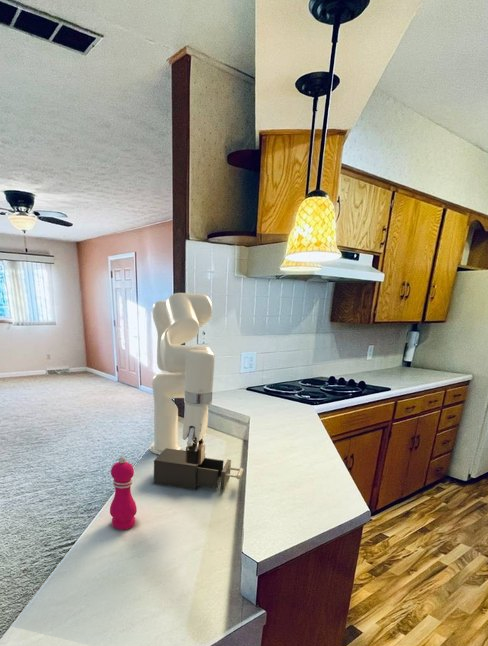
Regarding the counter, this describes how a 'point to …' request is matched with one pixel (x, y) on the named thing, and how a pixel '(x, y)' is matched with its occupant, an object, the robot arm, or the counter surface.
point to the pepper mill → (122, 496)
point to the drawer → (215, 473)
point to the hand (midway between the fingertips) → (195, 459)
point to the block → (201, 453)
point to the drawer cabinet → (174, 470)
